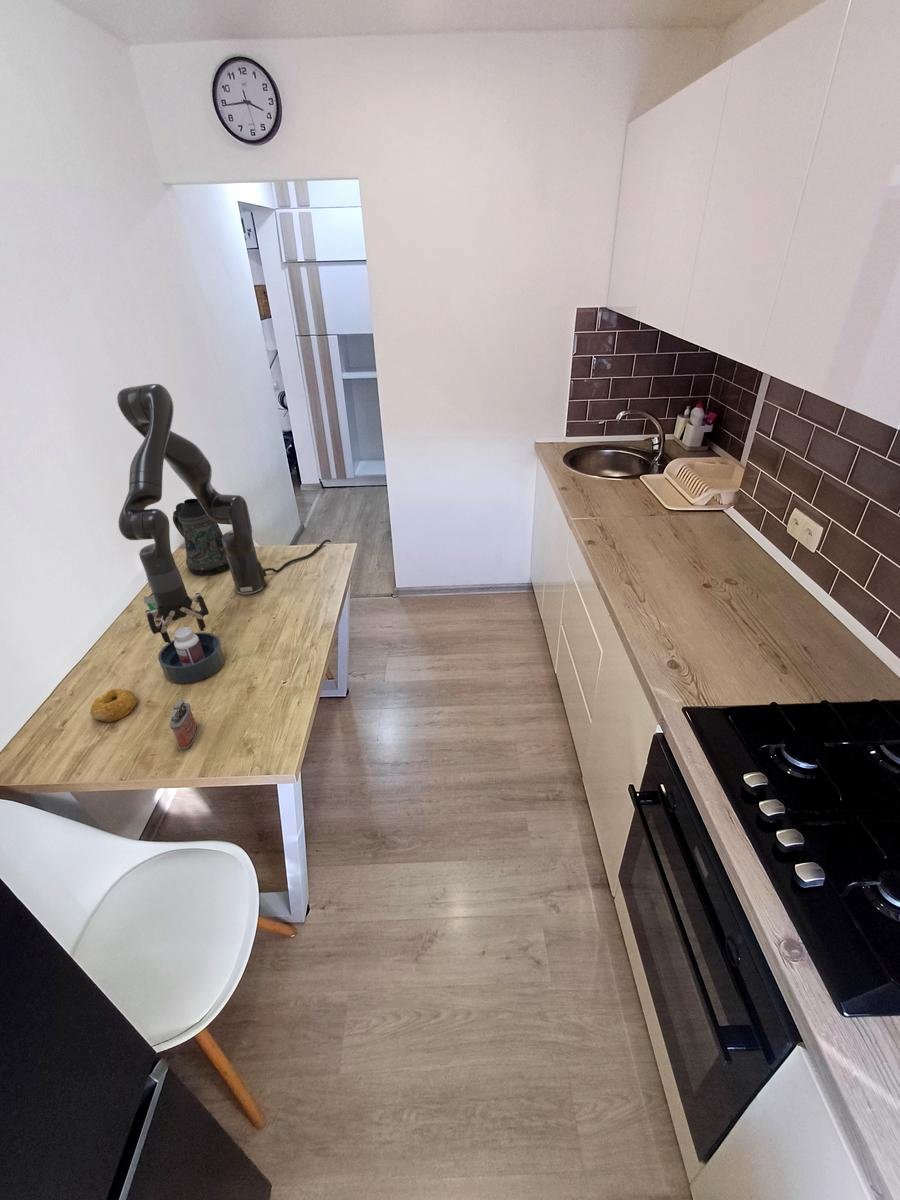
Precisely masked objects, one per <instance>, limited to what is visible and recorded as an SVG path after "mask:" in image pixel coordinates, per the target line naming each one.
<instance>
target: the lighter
mask: <svg viewBox="0 0 900 1200" xmlns="http://www.w3.org/2000/svg"><path fill="white" fill-rule="evenodd" d="M191 707H192V706H191V704H190V703H189V702H185V701H184V699H182V698H181V699H178V700H177V701H176V704H174V705H173V706H172V713H171V715H170V717H169V718H170V721H169V727H170V730H172V732H173V735H174V736H175V739H176V742H177V744H178V749H179V750H180V751H181V752H185V751H188V750H190V749H191V748H192V747H193V745H194V744H195V741H196V740H197V737H198V735H199V730H200V729H199V725H198V723H197V722H196V720H195V717H194V714H193V711H192V709H191Z"/></svg>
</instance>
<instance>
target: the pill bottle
mask: <svg viewBox="0 0 900 1200" xmlns="http://www.w3.org/2000/svg"><path fill="white" fill-rule="evenodd" d="M193 633H194V630H193V628H192V627H189V626H184V627H180V628H178V629H176V630H175V631H174V633H173V637H174V640H175V639H176V640H175V642H174V645H175V648H176V651H177V653H178V656H179V658H180V661H181V664H182V666H186V665H191V664H194V663H197V662H199V661H202V660H204V659H205V658H206V657H205V655H204V652H203V649H202V646H201V644H200V641H199V638H198V636H197V635H196V634H193Z"/></svg>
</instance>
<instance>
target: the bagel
mask: <svg viewBox="0 0 900 1200" xmlns="http://www.w3.org/2000/svg"><path fill="white" fill-rule="evenodd" d="M137 702H138V700H137V698H136V696H135V693H134V692H133V691H132V690H129V689H121V688H113V689H110V690H108V691H106V693H104V694H101V696H100V697H97V698H95V699H94V700H93V702H92V704H91V706H90V716H91V717H92V718H93V719H95V720H98V721H102V722H107V723H109V722H115V721H117V720H120V719H123V718H124V717H126V716H127V715H128V714H130V713H131V712H132V711H133V710H134V708H135V706H136V704H137Z"/></svg>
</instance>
